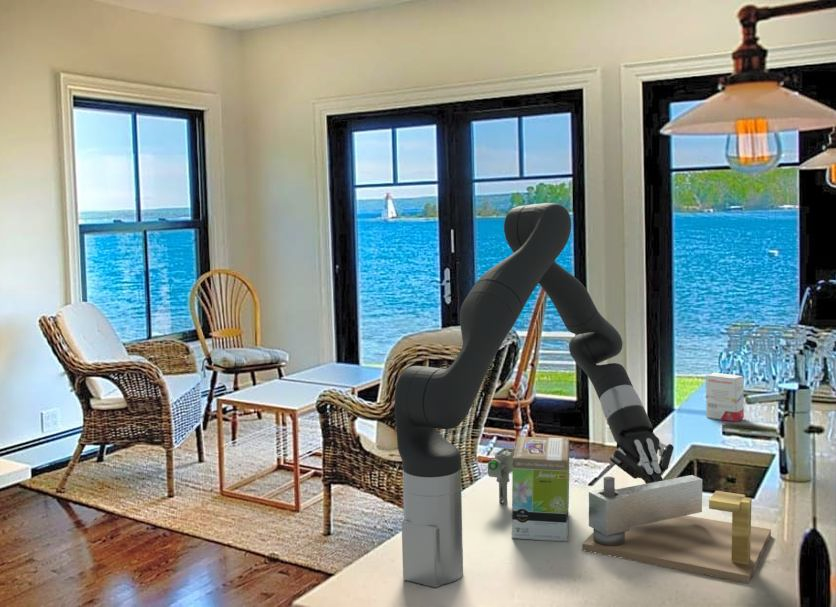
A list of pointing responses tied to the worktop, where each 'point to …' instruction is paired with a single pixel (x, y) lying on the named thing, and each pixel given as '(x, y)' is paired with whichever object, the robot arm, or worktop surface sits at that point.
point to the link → (644, 504)
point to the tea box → (540, 489)
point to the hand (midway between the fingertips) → (660, 495)
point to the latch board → (691, 540)
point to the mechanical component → (502, 470)
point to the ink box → (724, 397)
